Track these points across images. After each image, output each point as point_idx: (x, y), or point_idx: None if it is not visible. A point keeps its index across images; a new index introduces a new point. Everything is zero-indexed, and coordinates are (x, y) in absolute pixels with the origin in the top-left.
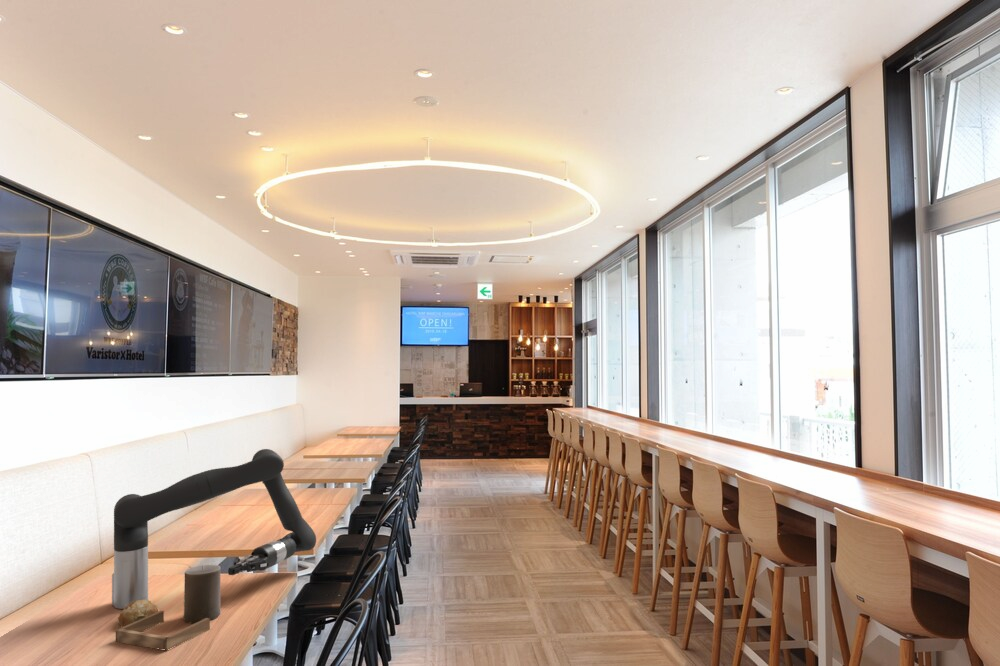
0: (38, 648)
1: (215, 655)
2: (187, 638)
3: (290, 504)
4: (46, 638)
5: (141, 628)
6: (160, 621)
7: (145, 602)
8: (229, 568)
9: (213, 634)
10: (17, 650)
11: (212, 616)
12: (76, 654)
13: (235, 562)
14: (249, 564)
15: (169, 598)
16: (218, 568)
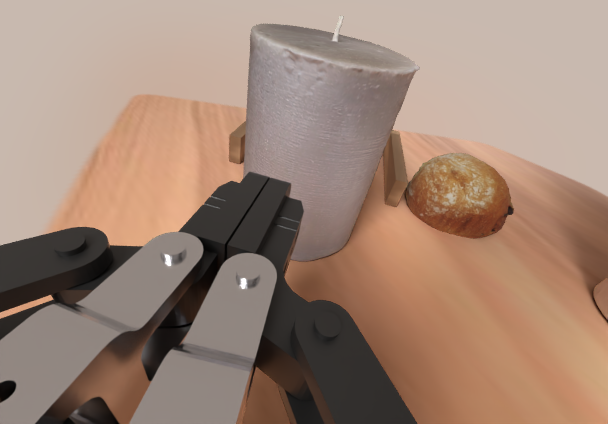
0: (483, 153)
1: (172, 100)
2: None
3: None
4: (521, 174)
5: (386, 165)
6: (386, 195)
7: (456, 163)
8: (281, 180)
9: (207, 144)
10: (503, 153)
11: None
12: (405, 134)
13: (318, 314)
14: (58, 235)
15: None
16: (258, 30)
